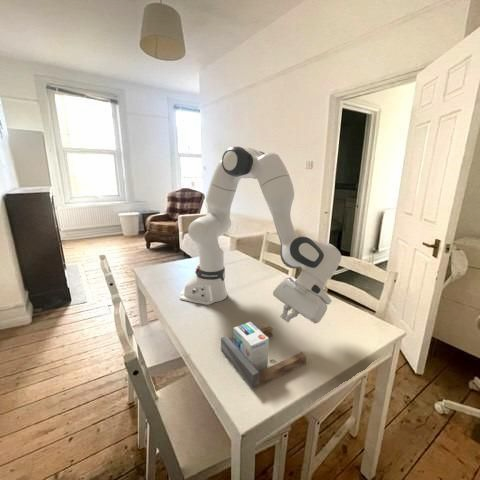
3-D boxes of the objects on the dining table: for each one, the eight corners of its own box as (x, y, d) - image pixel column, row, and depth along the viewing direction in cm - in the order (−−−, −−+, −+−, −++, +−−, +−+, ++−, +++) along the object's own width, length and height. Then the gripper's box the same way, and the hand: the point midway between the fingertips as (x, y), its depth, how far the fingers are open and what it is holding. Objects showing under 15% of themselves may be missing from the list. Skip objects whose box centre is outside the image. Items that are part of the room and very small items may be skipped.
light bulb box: (232, 355, 87) (232, 326, 84) (249, 348, 91) (250, 320, 88) (250, 377, 78) (250, 345, 76) (268, 368, 82) (269, 338, 79)
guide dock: (268, 332, 100) (269, 320, 98) (305, 363, 84) (306, 350, 83) (221, 350, 90) (220, 337, 88) (252, 390, 74) (252, 375, 73)
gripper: (283, 271, 97) (260, 301, 95) (327, 293, 80) (300, 331, 78) (291, 279, 101) (270, 309, 98) (335, 303, 84) (310, 340, 82)
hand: (284, 319), depth 88 cm, fingers closed
